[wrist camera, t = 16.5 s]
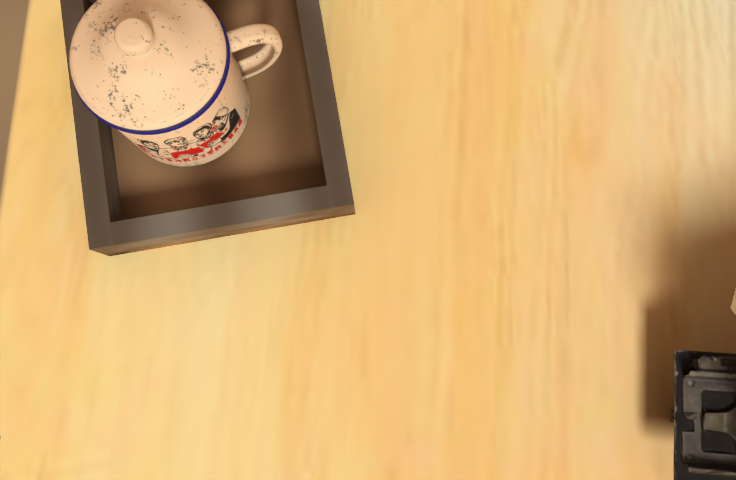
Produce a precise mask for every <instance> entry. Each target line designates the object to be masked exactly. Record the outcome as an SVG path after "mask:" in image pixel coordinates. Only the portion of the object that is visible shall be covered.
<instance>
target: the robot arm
mask: <svg viewBox="0 0 736 480" xmlns="http://www.w3.org/2000/svg"><path fill="white" fill-rule="evenodd" d="M730 309H731V310H732V311H733V312H734V314H735V315H736V289H735V293H734V297H733V301H732V304H731V308H730ZM0 438H1V437H0Z"/></svg>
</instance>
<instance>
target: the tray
mask: <svg viewBox="0 0 736 480" xmlns="http://www.w3.org/2000/svg"><path fill="white" fill-rule="evenodd" d="M96 1H97V0H60V3H61V11H62V20H63V28H64V37H65V45H66V54H67V62H68V71H69V80H70V88H71V97H72V105H73V114H74V122H75V131H76V139H77V148H78V156H79V165H80V174H81V182H82V191H83V199H84V208H85V216H86V225H87V233H88V242H89V249H90V250H93V251H96V252H99V253H102V254H105V255H108V256H113V255H119V254H125V253H130V252H136V251H142V250H148V249H154V248H160V247H165V246H171V245H177V244H183V243H189V242H195V241H200V240H206V239H212V238H218V237H224V236H230V235H235V234H241V233H247V232H253V231H259V230H265V229H270V228H276V227H282V226H288V225H294V224H300V223H305V222H311V221H317V220H323V219H329V218H335V217H340V216H346V215H352V214H355V208H354V201H353V196H352V190H351V184H350V178H349V172H348V167H347V161H346V155H345V149H344V144H343V138H342V132H341V126H340V121H339V115H338V109H337V103H336V98H335V92H334V86H333V80H332V74H331V69H330V63H329V57H328V51H327V46H326V40H325V34H324V28H323V23H322V17H321V11H320V5H319V0H205V1H206V2H207V3H208V4H209V5H210V6H211V7H212V8H213V10H214V11H215V12H216V13H217V15H218V16H219V18H220V20H221V21H222V23H223V25H224V28H225V30H226V32H229V31H231V30H234V29H237V28H240V27H243V26H246V25H251V24H268V25H271V26H273V27H274V28H276V30H277V31H278V33H279V35H280V37H281V40H282V51H281V53H280V55H279V57H278V59H277V60H276V61H275V62H274V63H273V64H272V65H271V66H270V67H268V68H267V69H265V70H264V71H262V72H260V73H258V74H256V75H254V76H251V77H249V78H246V79H245V82H246V84H247V87H248V91H249V98H250V110H249V116H248V120H247V123H246V126H245V128H244V131H243V132H242V134H241V136H240V137H239V139H238V140H237V142H236V143H235V144H234V145H233V146H232V147H231V148H230V149H229V150H228V151H227V152H225V153H224V154H223V155H221V156H220V157H218V158H216V159H214V160H212V161H210V162H207V163H204V164H201V165H196V166H185V167H182V166H173V165H169V164H165V163H162V162H160V161H157V160H156V159H154V158H152V157H150V156H149V155H147V154H146V153H145V152H143V151H142V150H141V149H140V148H139V147H138V146H136V145H135V144H134V143H133V142H132V141H130V140H129V139H128V138H127V137H126V136H125V135H123V134H122V133H121V132H120V131H119V130H117V129H115V128H113V127H111V126H109V125H107V124H105V123H104V122H102V121H100V120H99V119H98V118H97V117H95V116H94V115H93V114H92V113H91V112H90V111H89V110H88V109H87V107H86V106H85V105H84V104H83V102H82V101H81V99H80V98H79V96H78V94H77V92H76V89H75V87H74V84H73V81H72V77H71V72H70V64H69V54H70V46H71V42H72V38H73V35H74V32H75V29H76V27H77V25H78V23H79V22H80V20H81V18H82V17H83V15H84V14H85V13H86V11H87V10H88V9H89V8H90V7H91V6H92V5H93V4H94V3H95V2H96ZM264 45H265V44H258V45H253V46H250V47H246V48H244V49H241V50H238V51H236V52H233V53H232V54H233V56H234V58H235V60H236V61H239V60H242V59H244V58H247V57H249V56H251V55H253V54H255V53H256V52H258V51H259V50H260V49H262V48H263V46H264Z"/></svg>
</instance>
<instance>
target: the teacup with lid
mask: <svg viewBox="0 0 736 480" xmlns="http://www.w3.org/2000/svg"><path fill="white" fill-rule="evenodd" d="M258 44H265V45H264V46H263V48H262V49H260V50H259V51H258V52H256V53H255V54H253V55H251V56H249V57H247V58H244V59H242V60H239V61H236V60H235V58H234V56H233V54H232V53H233V52H236V51H238V50H241V49H244V48H246V47H250V46H253V45H258ZM281 51H282V40H281V37H280V35H279V33H278V31H277V30H276V28H274V27H273V26H271V25H268V24H251V25H246V26H243V27H240V28H237V29H234V30H231V31H229V32H226V30H225V28H224V25H223V23H222V21H221V20H220V18H219V16H218V15H217V13H216V12H215V11H214V10H213V8H212V7H211V6H210V5H209V4H208V3H207V2H206V1H205V0H97V1H96V2H95V3H94V4H93V5H92V6H91V7H90V8H89V9H88V10H87V11H86V13H85V14H84V15H83V17H82V18H81V20H80V22H79V23H78V25H77V27H76V29H75V32H74V35H73V38H72V42H71V46H70V54H69V64H70V72H71V77H72V81H73V84H74V87H75V89H76V92H77V94H78V96H79V98H80V99H81V101H82V102H83V104H84V105H85V106H86V107H87V109H88V110H89V111H90V112H91V113H92V114H93V115H94V116H95V117H97V118H98V119H99V120H100V121H102V122H104V123H105V124H107V125H109V126H111V127H113V128H115V129H117V130H119V131H120V132H121V133H122V134H123V135H125V136H126V137H127V138H128V139H129V140H130V141H132V142H133V143H134V144H135V145H136V146H138V147H139V148H140V149H141V150H142V151H143V152H145V153H146V154H147V155H149V156H150V157H152V158H154V159H156V160H157V161H160V162H162V163H165V164H169V165H173V166H182V167H185V166H196V165H201V164H204V163H207V162H210V161H212V160H214V159H216V158H218V157H220V156H221V155H223V154H224V153H225V152H227V151H228V150H229V149H230V148H231V147H232V146H233V145H234V144H235V143H236V142H237V140H238V139H239V137H240V136H241V134H242V132H243V131H244V128H245V126H246V123H247V120H248V116H249V110H250V98H249V91H248V87H247V84H246V82H245V79H246V78H249V77H251V76H254V75H256V74H258V73H260V72H262V71H264V70H265V69H267V68H268V67H270V66H271V65H272V64H273V63H274V62H275V61H276V60H277V59H278V57H279V55H280V53H281Z"/></svg>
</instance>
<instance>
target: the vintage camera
mask: <svg viewBox="0 0 736 480" xmlns="http://www.w3.org/2000/svg"><path fill="white" fill-rule="evenodd" d="M670 416H671V421H672V422H674V480H736V354H727V353H712V352H697V351H685V350H675V351H674V409H670Z"/></svg>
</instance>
